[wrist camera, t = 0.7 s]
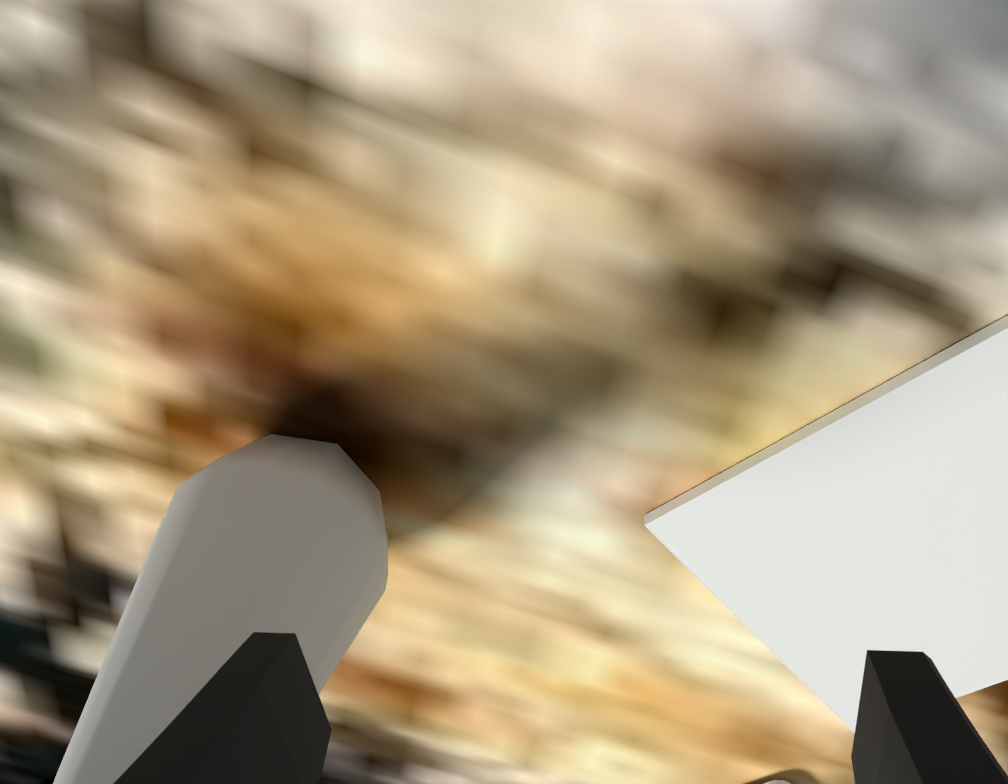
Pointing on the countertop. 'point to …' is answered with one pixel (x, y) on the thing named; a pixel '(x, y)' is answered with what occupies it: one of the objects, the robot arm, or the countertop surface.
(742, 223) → the countertop surface
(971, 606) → the pad
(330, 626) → the salt shaker
